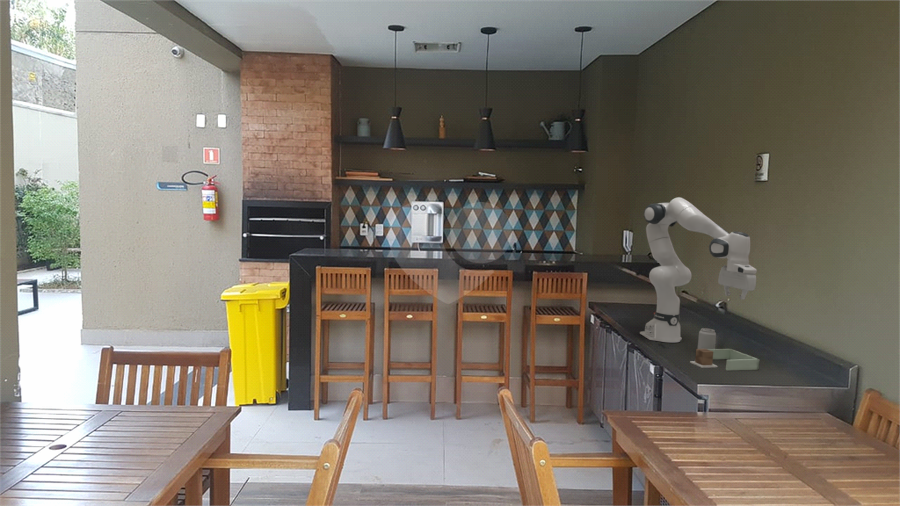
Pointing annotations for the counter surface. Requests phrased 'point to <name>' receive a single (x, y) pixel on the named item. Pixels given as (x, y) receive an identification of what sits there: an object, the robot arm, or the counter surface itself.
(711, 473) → the counter surface
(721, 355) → the pale green frame
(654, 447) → the counter surface
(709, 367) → the coaster
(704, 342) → the can
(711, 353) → the block
